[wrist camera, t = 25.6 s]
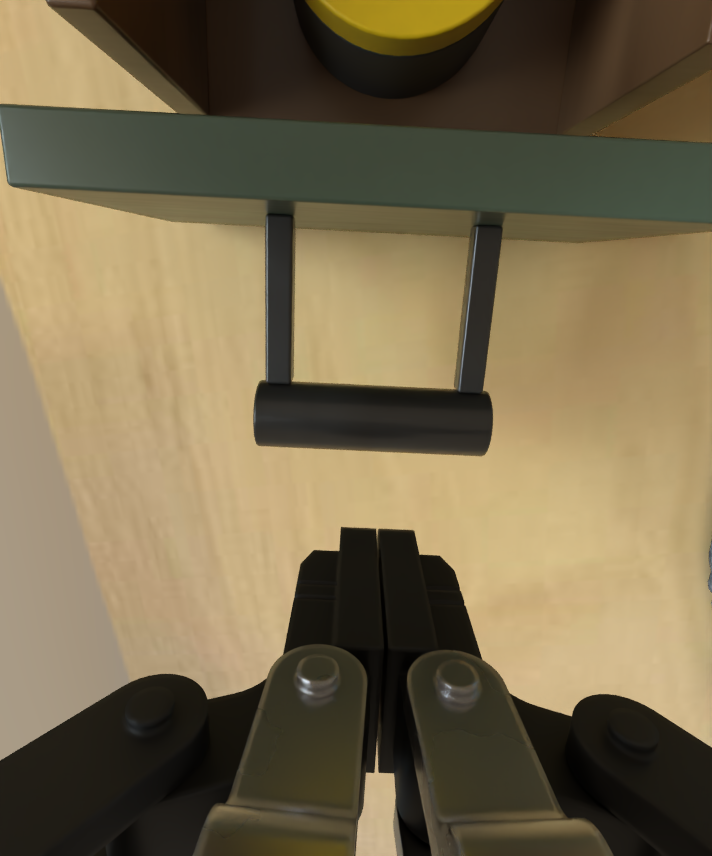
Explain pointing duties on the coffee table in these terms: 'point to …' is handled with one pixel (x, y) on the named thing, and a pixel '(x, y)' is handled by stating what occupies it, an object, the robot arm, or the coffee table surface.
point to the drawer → (381, 166)
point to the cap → (394, 41)
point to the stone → (711, 560)
